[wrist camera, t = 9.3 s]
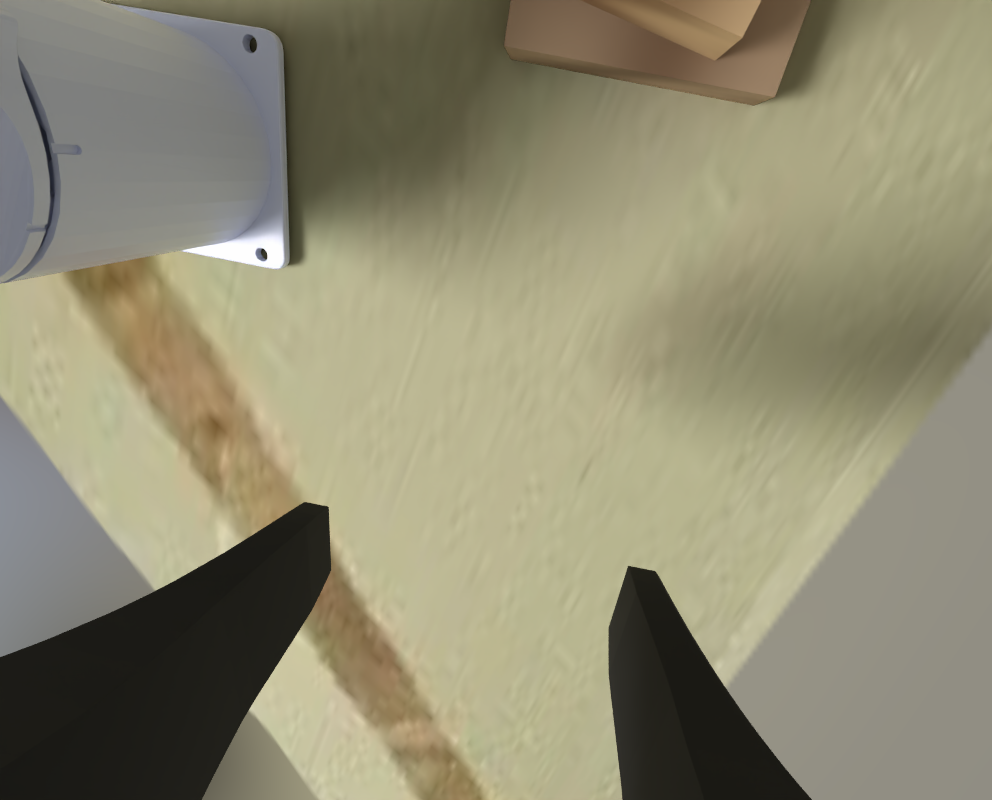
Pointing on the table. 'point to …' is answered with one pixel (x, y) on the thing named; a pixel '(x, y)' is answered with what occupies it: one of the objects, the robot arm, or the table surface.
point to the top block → (688, 20)
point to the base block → (655, 48)
